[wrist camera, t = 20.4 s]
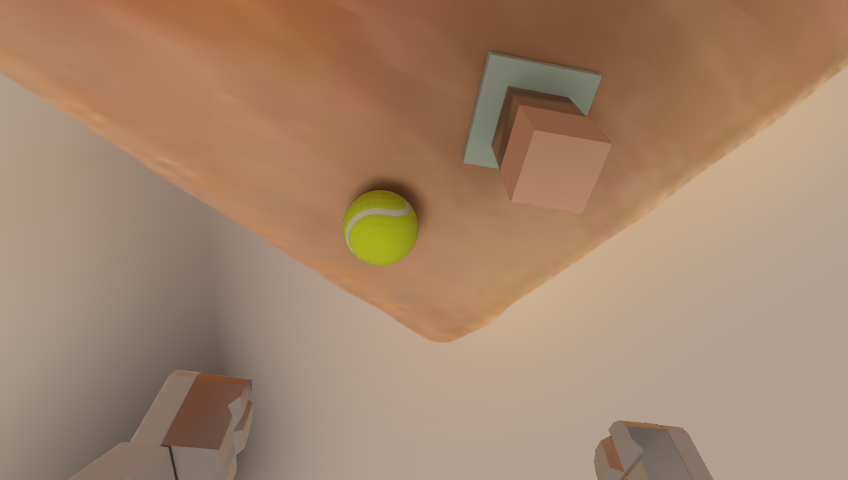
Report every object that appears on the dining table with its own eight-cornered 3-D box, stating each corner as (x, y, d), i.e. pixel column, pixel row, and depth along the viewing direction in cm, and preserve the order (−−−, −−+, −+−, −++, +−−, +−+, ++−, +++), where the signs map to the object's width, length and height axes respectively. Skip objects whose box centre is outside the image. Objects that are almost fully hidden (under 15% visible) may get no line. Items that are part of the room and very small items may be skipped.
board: (488, 51, 35) (490, 54, 34) (597, 72, 36) (602, 76, 35) (462, 157, 40) (463, 162, 39) (558, 173, 41) (562, 179, 40)
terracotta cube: (519, 104, 31) (534, 130, 27) (587, 117, 32) (613, 144, 28) (500, 170, 34) (510, 202, 30) (563, 180, 34) (582, 213, 30)
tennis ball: (342, 229, 44) (330, 271, 39) (355, 169, 41) (344, 205, 35) (408, 245, 45) (406, 287, 40) (426, 187, 42) (427, 225, 36)
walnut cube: (507, 85, 35) (519, 105, 31) (568, 97, 36) (587, 117, 32) (491, 145, 38) (499, 170, 34) (547, 155, 39) (563, 181, 34)
